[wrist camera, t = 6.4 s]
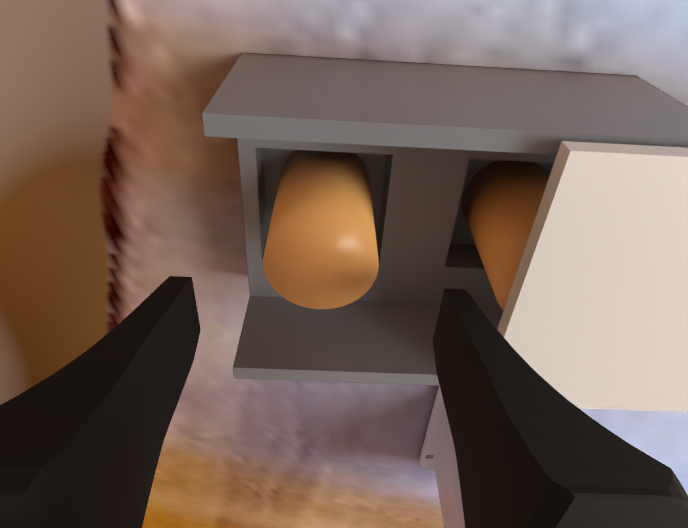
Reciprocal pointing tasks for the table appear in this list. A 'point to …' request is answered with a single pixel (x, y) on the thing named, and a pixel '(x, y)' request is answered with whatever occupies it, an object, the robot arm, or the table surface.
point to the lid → (608, 279)
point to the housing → (403, 188)
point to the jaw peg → (322, 231)
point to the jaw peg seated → (503, 217)
